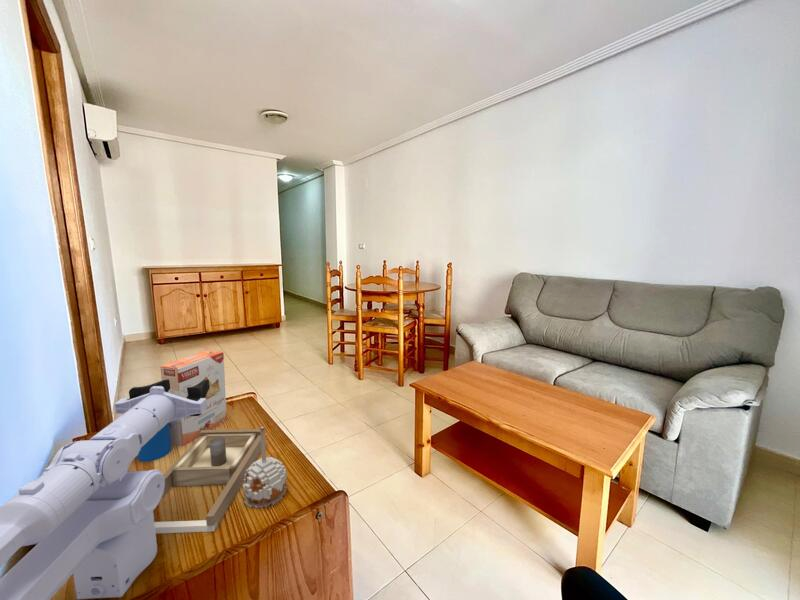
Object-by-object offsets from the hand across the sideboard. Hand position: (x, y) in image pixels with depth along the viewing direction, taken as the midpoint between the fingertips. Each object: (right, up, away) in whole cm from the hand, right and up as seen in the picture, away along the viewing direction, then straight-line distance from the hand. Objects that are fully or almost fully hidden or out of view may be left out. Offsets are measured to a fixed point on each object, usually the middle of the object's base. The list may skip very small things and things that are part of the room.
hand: (187, 383), depth 67 cm
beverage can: (-15, -20, +11) cm, 28 cm away
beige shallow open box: (+2, -20, +7) cm, 21 cm away
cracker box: (-11, -19, +21) cm, 30 cm away
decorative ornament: (+16, -23, -1) cm, 28 cm away
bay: (+3, -22, +2) cm, 22 cm away
